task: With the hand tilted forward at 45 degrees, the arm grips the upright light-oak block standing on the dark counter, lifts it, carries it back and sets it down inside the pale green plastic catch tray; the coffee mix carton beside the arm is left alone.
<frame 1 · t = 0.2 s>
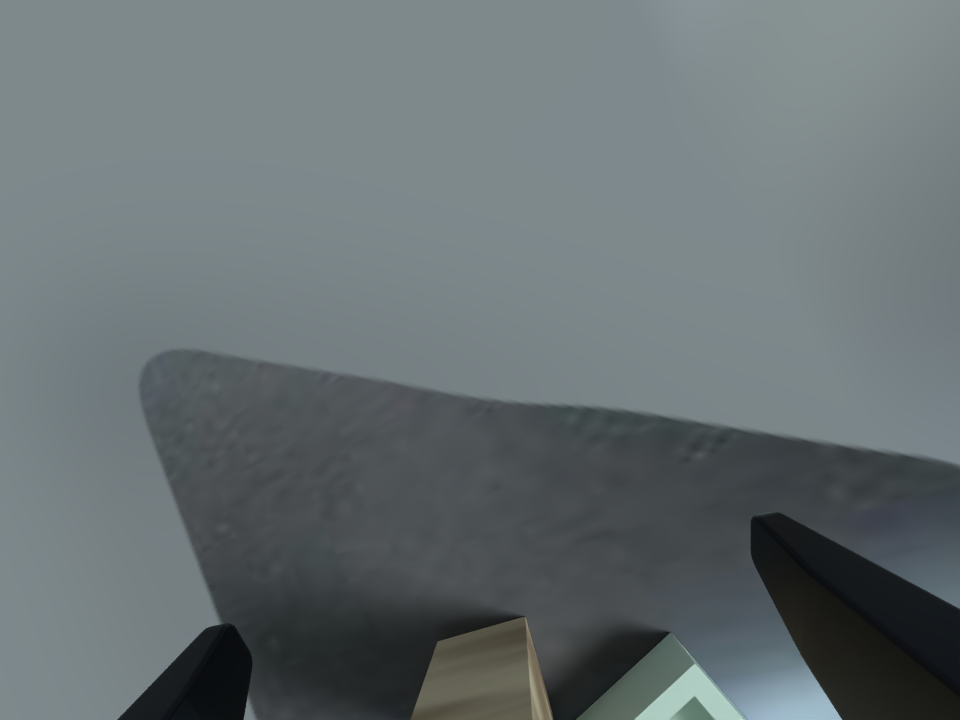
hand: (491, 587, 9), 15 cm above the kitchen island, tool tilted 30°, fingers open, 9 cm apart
oak block: (494, 676, 23), on the kitchen island
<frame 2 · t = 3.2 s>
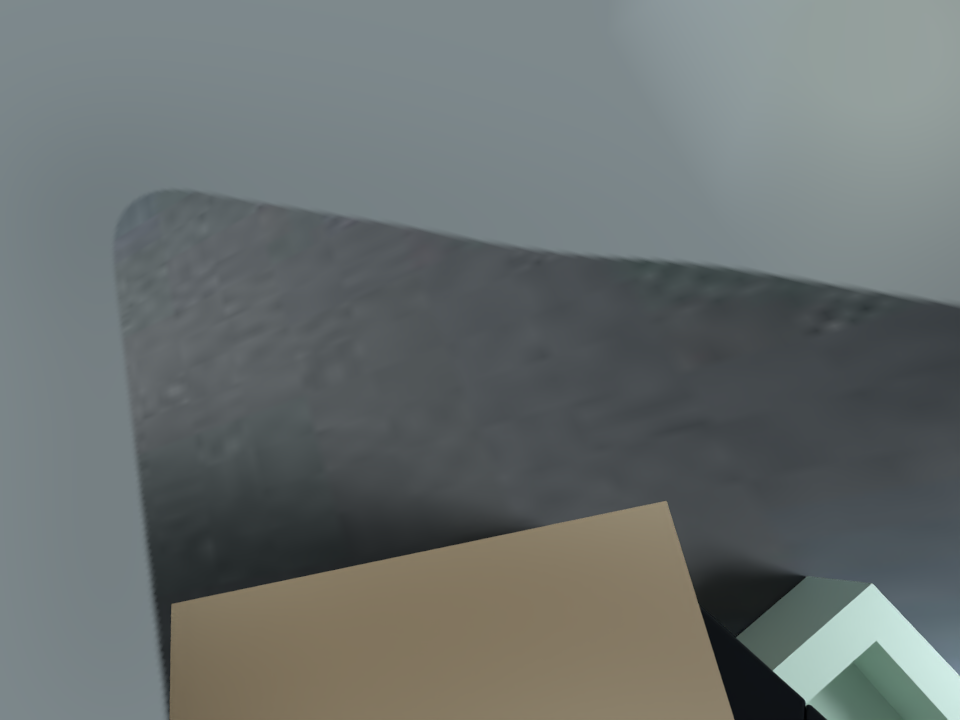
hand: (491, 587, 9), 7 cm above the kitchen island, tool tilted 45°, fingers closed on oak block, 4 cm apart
oak block: (522, 624, 15), on the kitchen island, touching gripper
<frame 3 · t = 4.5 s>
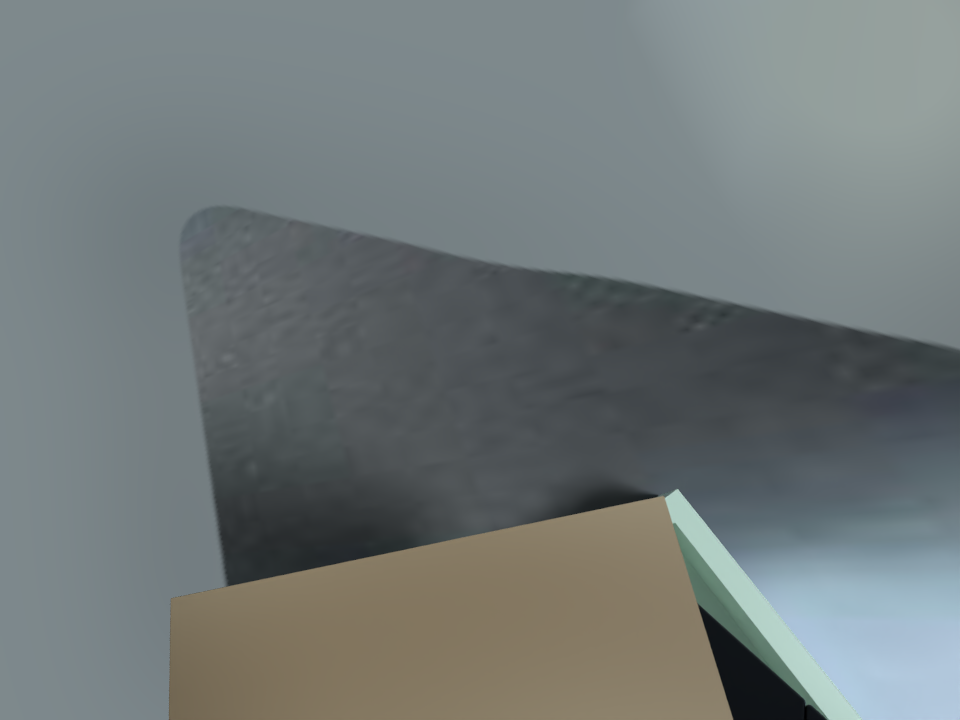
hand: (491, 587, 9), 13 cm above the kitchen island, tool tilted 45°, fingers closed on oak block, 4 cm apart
catch tray: (641, 693, 19), on the kitchen island
oak block: (522, 623, 15), point 6 cm above the kitchen island, touching gripper
when the fingers open (9 cm above the kitchen island, at t = 5.9 s): oak block drops 1 cm, resting on catch tray.
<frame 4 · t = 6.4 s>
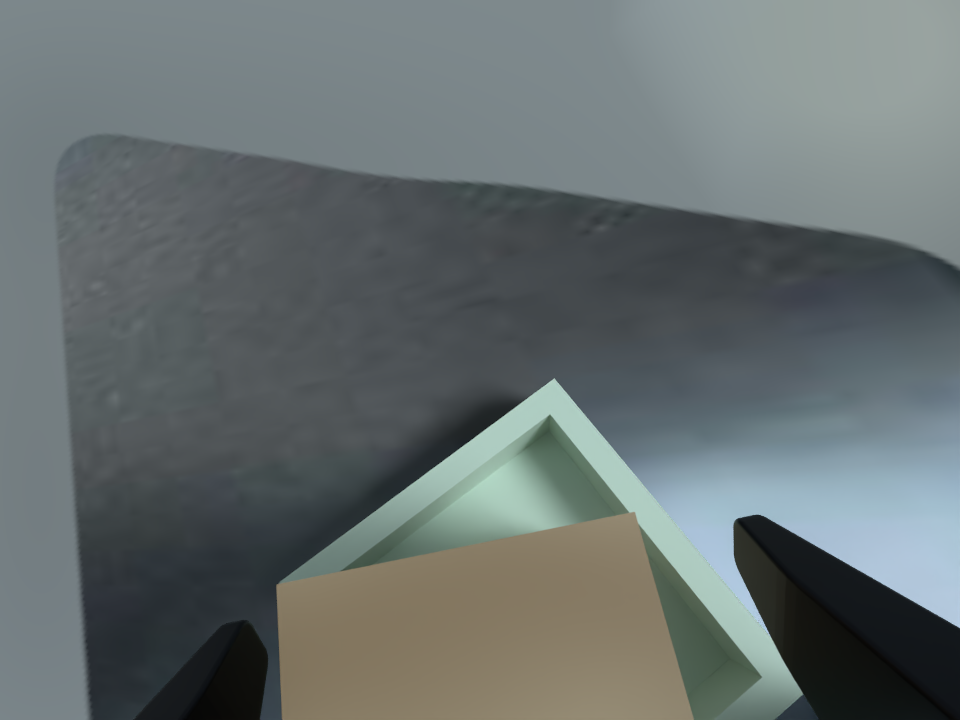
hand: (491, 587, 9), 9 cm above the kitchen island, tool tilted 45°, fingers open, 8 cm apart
catch tray: (527, 617, 17), on the kitchen island
oak block: (526, 620, 16), point 1 cm above the kitchen island, touching catch tray
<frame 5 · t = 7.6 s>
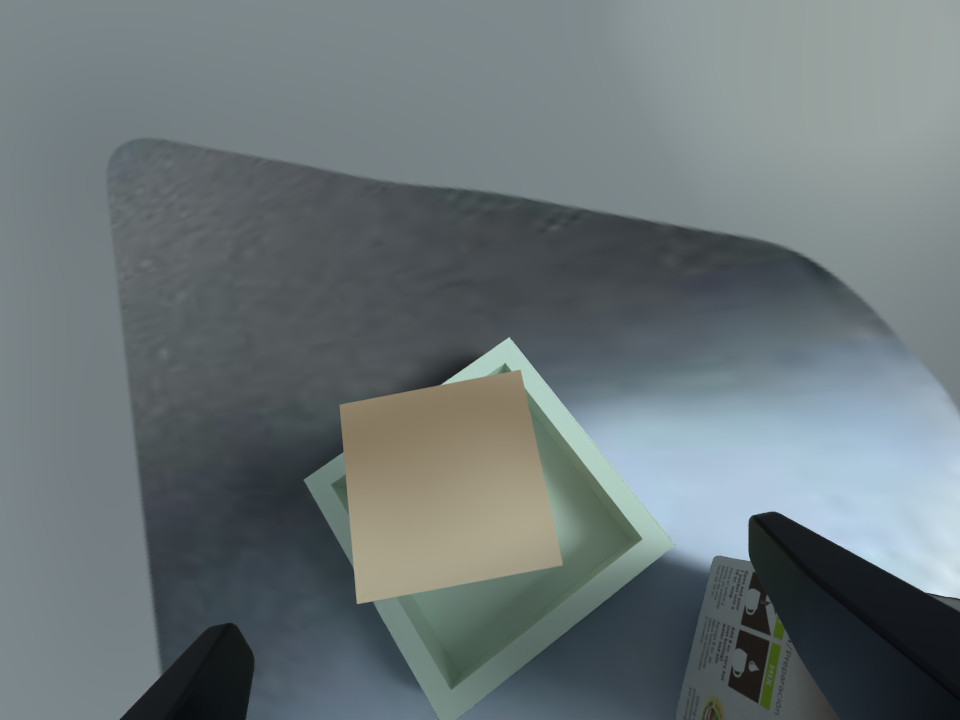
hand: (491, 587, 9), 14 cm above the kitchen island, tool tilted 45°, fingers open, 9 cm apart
catch tray: (486, 515, 23), on the kitchen island
oak block: (484, 515, 22), point 1 cm above the kitchen island, touching catch tray
coffee box: (804, 684, 19), point 1 cm above the kitchen island
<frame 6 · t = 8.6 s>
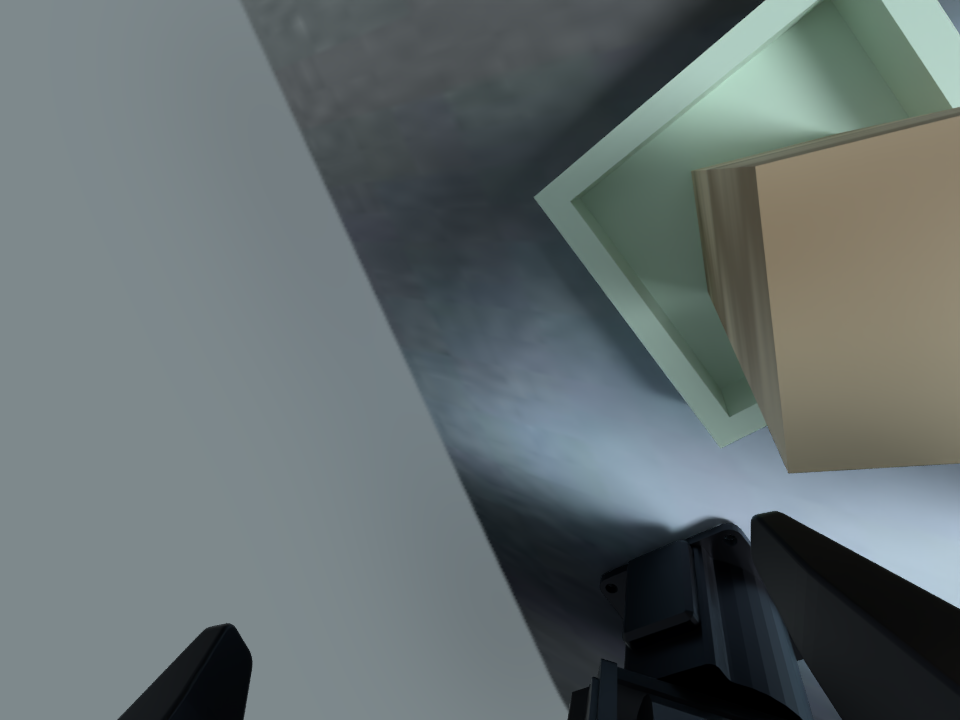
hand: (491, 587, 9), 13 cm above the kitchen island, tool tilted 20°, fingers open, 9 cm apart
catch tray: (764, 216, 17), on the kitchen island
oak block: (767, 218, 17), point 1 cm above the kitchen island, touching catch tray
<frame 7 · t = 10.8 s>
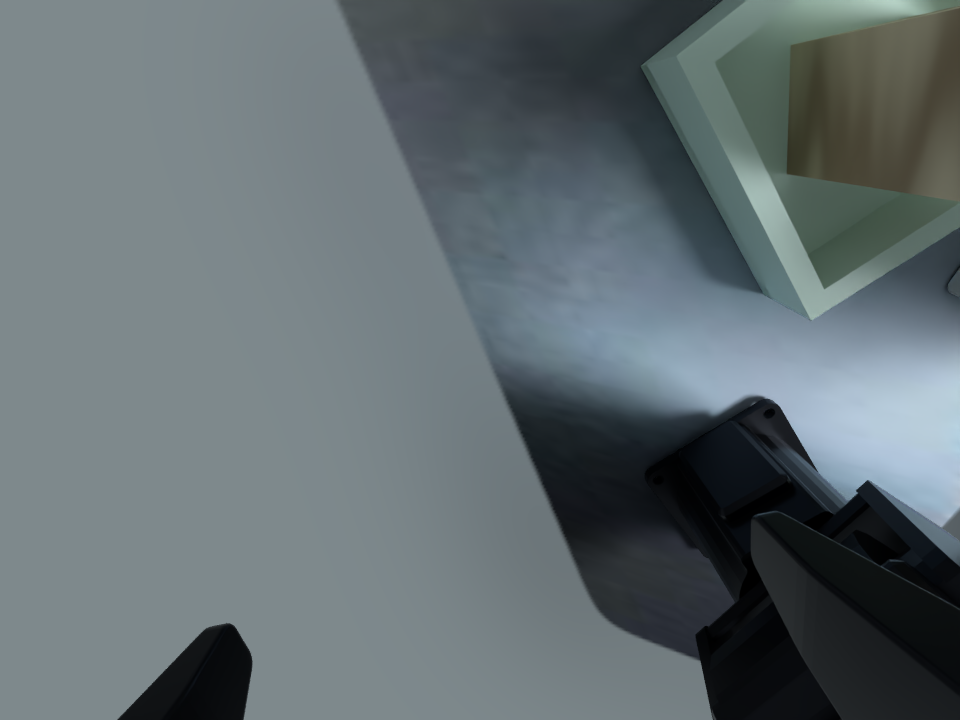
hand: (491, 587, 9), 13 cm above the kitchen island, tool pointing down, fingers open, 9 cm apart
catch tray: (836, 98, 18), on the kitchen island
oak block: (848, 98, 18), point 1 cm above the kitchen island, touching catch tray
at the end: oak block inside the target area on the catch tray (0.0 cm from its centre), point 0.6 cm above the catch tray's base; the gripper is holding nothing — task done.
